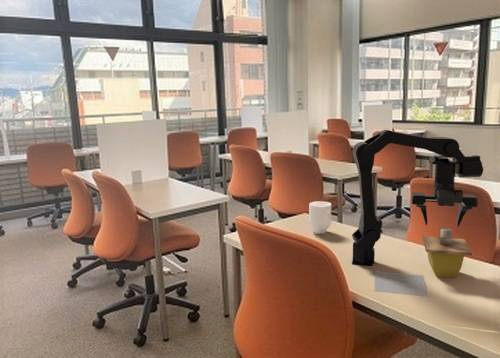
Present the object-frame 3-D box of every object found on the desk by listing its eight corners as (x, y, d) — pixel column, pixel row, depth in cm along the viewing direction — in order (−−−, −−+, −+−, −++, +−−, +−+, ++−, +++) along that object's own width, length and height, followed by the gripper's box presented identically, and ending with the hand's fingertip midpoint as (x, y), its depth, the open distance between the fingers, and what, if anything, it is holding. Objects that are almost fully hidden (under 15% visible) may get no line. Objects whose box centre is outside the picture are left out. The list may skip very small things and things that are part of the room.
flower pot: (463, 281, 121) (465, 252, 119) (431, 279, 122) (433, 250, 121) (454, 269, 129) (456, 242, 127) (425, 267, 131) (426, 240, 129)
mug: (304, 230, 171) (305, 202, 169) (322, 228, 175) (323, 200, 173) (320, 238, 161) (321, 208, 158) (338, 235, 164) (340, 206, 162)
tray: (374, 291, 116) (374, 290, 116) (374, 271, 129) (374, 271, 129) (428, 297, 111) (428, 296, 111) (423, 276, 125) (423, 275, 125)
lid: (425, 251, 120) (426, 234, 119) (422, 238, 131) (423, 222, 130) (471, 255, 116) (473, 237, 115) (464, 241, 128) (465, 225, 127)
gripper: (414, 181, 125) (412, 231, 128) (483, 183, 119) (479, 235, 122) (412, 175, 135) (410, 221, 138) (475, 176, 129) (472, 224, 132)
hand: (441, 225), depth 132 cm, fingers open, 9 cm apart
